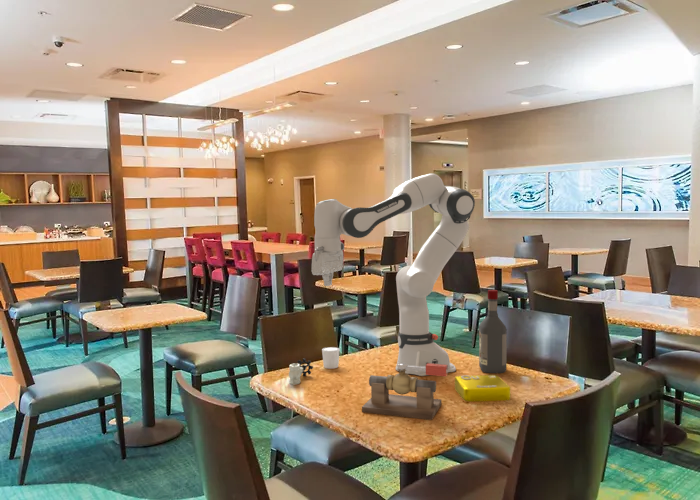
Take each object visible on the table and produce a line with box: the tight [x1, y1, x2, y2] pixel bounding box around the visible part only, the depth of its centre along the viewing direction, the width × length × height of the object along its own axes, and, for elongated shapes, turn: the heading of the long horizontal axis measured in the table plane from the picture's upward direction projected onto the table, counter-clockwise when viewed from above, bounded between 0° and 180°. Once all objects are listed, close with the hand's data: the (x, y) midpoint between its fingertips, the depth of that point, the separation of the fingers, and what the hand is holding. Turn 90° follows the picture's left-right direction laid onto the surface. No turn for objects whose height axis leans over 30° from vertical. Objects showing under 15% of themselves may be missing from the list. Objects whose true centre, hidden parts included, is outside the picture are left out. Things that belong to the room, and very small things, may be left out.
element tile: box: [454, 374, 511, 403], centre depth 180 cm, size 15×15×5 cm
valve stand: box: [361, 371, 443, 421], centre depth 167 cm, size 14×21×11 cm, turn 70°
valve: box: [288, 357, 314, 386], centre depth 198 cm, size 7×7×12 cm
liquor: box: [478, 289, 508, 374], centre depth 207 cm, size 9×9×30 cm
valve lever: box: [396, 363, 449, 377], centre depth 164 cm, size 15×3×3 cm, turn 69°
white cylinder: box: [321, 346, 341, 370], centre depth 215 cm, size 7×7×7 cm
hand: (328, 285), depth 193 cm, fingers closed
